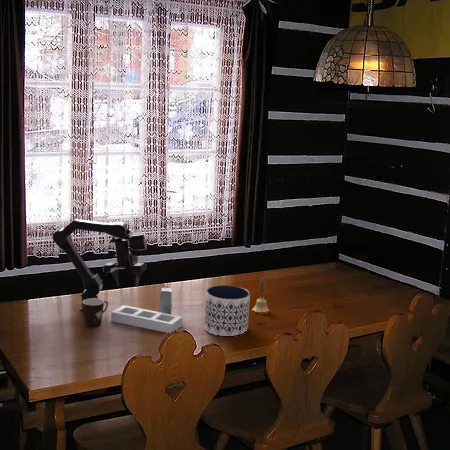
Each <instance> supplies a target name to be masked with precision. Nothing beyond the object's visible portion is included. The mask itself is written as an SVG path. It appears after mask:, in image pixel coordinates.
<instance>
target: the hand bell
mask: <svg viewBox="0 0 450 450" xmlns="http://www.w3.org/2000/svg"><path fill="white" fill-rule="evenodd" d="M265 279H266V278H265V277H261V279H260V280H259V290H260V294H259V298H257V299H256V302H255V305H254V307H253V308H252V309H251V311H252V310H253V311H255V312H267V311H270V309H269V307H268V304H267V302H268V301H267V300H266V299H265V297H264V296H265V295H264V294H265V289H266V280H265Z"/></svg>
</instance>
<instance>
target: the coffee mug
mask: <svg viewBox="0 0 450 450" xmlns="http://www.w3.org/2000/svg"><path fill="white" fill-rule="evenodd" d="M105 304H106V307H105ZM104 307H105V308H104ZM108 307H109V303H108V301H105V300H103V299H101V298H98V299H97V298H90V299H85V300H84V301H83V309H84V312H83V316H84V317H83V318H84V326H85V327H87V328H92V329H93V328H99V327H101V325H102V319H103V315H104V313H105V312H106V311H107V309H108Z"/></svg>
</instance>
